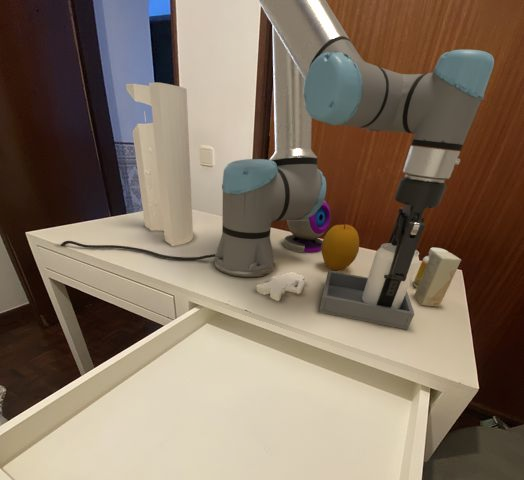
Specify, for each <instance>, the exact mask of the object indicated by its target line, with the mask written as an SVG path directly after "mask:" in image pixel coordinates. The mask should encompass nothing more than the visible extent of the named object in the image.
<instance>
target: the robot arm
mask: <svg viewBox="0 0 524 480" xmlns="http://www.w3.org/2000/svg"><path fill="white" fill-rule="evenodd" d="M257 1H258V3H259V5H260V6H261V9H262V10H263V12H264V14H265V15H266V17H267V18H268V20H269V22H270V23H271V25H272V26H271V27H272V28H271V29H272V30H271V31H272V32H271V33H272V68H273V69H272V71H273V72H272V77H273V121H274V153H273V154H272V156H271V157H270V158H269V159H265V158H255V159H253V158H246V159H239V160H235V161H231V162H229V163H227V165H226V166H225V167H224V168H223V172H222V173H223V174H222V183H221V190H222V223H221V224H222V228H221V229H222V231H221V236H220V239H219V242H218V246H217V249H216V252H215V253H212V254H205V255H200V256H188V257H187V256H186V257H185V256H173V255H166V254H161V253H158V252H155V251H152V250H149V249H144V248H139V247H134V246H126V245H116V244H115V245H114V244H110V245H109V244H95V245H94V244H83V243H80V242H77V241H73V240H65V241H63V242H61V244H60V247H65V246H66V245H69V244H70V245H74V246H76V247H80V248H81V247H82V248H86V249H122V250H130V251H136V252H142V253H146V254H149V255H152V256H155V257H159V258H162V259H163V258H164V259H169V260H177V261H198V260H199V261H200V260H203V259H209V258H210V259H211V258H214V267H215V268H216V269H217V270H219V271H220V272H221V273H224V274H227V275H230V276H234V277H240V278H259V277H265V276H267V275H269V274H271V273H272V272H273V271H274V270H275V257H274V252H273V247H272V243H271V231H272V230H271V229H272V223H274V222H284V221H286V222H287V220H301V219H303V218H308V217H311V216H312V215H314V214H315V213H316V212H317V211H318V209H319V208H320V207H321V205H322V204H323V201H324V200H325V198H326V194H327V180H326V177H325V176H324V174H323V172H322V171H321V170H320V169H319V168H318V156H317V155H316V153H315V152H314V151H313V150H312V149H313V148H312V137H313V136H312V134H313V133H312V132H313V131H312V130H313V120H315V121H318V122H322V123H324V124H326V125H329V126H345V127H354V128H361V129H363V130H368V131H371V132H376V133H377V132H389V133H407V134H413V138H412V141H411V145H410V146H409V150H408V153H407V156H406V159H405V162H404V165H403V169H402V173H403V174H404V176H403V177H401V178H400V179H399V182H398V184H397V189H396V192H395V195H394V200H395V202H397V203H400V204H403V205H404V206H403V207H402V206H400V207H399V209H398V211H397V212H398V213H397V216H396V220H395V222H394V225H393V227H392V230H391V233H390V236H389V238H388V241H387V243H391V244H392V245H394V246H396V249H395V254H394V257H393V261H392V264H391V268H390V272H389V274H388V275H384V278H386V279H385V282H384V285H383V288H382V291H381V293H380V296H379V299H378V302H377V305H379V306H384V307H389V308H391V306H392V304H393V301H394V298H395V296H396V293H397V291H398V288H399V285H400V283H401V281H405V280H406V276H407V273H408V270H409V268H410V265H411V262H412V259H413V256H414V253H415V250H417V247H418V245H419V241H420V238H421V236H422V233H423V231H424V229H425V228H426V223H425V222H424V221H425V218H424V217H423V216H424V212H425V209H428V208H429V209H435V208H437V207H439V206H440V205H441V202H442V199H443V197H444V194H445V192H446V189H447V187H448V186H447V183H446V182H445V181H447V180H449V179H450V178H451V176H452V173H453V171H454V169H455V166H458V165H460V163H461V158H459V156H460V153H461V151H462V149H463V146H464V143H465V141H466V138H467V136H468V134H469V132H470V129H471V126H472V125H473V122H474V120H475V117H476V115H477V111H478V109H479V107H480V105H481V102H482V101H483V100H484V98H485V92H486V89H487V86H488V84H489V81H490V78H491V75H492V72H493V69H494V66H495V58H494V56H493V55H492V54H491V53H489V52H486V51H484V50H479V49H455V50H451V51H446V52H444V53H443V54H441V55H440V56H439V58H438V59H437V61H436V62H437V63H436V64H435V67H434V68H433V71H432V72H428V73H413V74H412V73H399V72H396V71H393V70H390V69H387V68H383V67H381V66H378V65H375V64H373V63H369V62H366V61H365V60H364V59H363V58H362V57H361V55H360V54H359V52H358V50H357V49H356V48H355V46H354V44H353V43H352V41H351V40H350V37H349V36H348V34H347V33H346V31H345V29H344V28H343V26H342V25H341V23H340V21H339V19H338V18H337V16H336V15H335V13H334V11H333V9H331V7H330V6H329V4H328V2H327V0H257ZM399 273H400V274H399Z"/></svg>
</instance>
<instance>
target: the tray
mask: <svg viewBox="0 0 524 480" xmlns="http://www.w3.org/2000/svg"><path fill="white" fill-rule="evenodd" d="M367 280H368V277H366V276H361V275H356V274H350V273H344V272H340V271H333V270H332V271H331V270H327V273H326V278H325V281H324V287H323V291H322V296H321V301H320V305H319V311H318V313H323V314H327V315H333V316H337V317H342V318H348V319H352V320H357V321H363V322H367V323H373V324H377V325H383V326H388V327H392V328H397V329H401V330H409V328H410V325H411V323H412V321H413V318H414V317H415V311H414V308H413V305H412V302H411V300H410V296H409V293H408V291H407V292H406V294H405V297H404V299H403V302H402V304H401V306H400V308H399V309H395V308H389V307H384V306H379V305H374V304H369V303H365V302H364V301H363V300H362V296H363V292H364V289H365V286H366V283H367Z"/></svg>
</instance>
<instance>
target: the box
mask: <svg viewBox="0 0 524 480" xmlns="http://www.w3.org/2000/svg"><path fill="white" fill-rule="evenodd" d="M461 262H462V259H461V258H459V257H458V256H457V255H455V254H453V253H451V252H449V251H448V252H440V251H432V253H431V256H430V258H429V260H428V263H427V265H426V268H425V270H424V273H423V275H422V278H421V280H420V282H419V285H418V287H417V288H416V289H415V292H414V295H413V297H414V298H415V300H417V302H418V303H419V304H420V305H421V306H426V307H427V306H428V307H437V308H439V307H440V306H441V304H442V302H443V300H444V297H445V296H446V293H447V292H448V289H449V287H450V285H451V283H452V280H453V279H454V276H455V274H456V273H457V270H458V268H459V266H460V264H461Z"/></svg>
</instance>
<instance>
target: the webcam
mask: <svg viewBox="0 0 524 480" xmlns="http://www.w3.org/2000/svg"><path fill="white" fill-rule="evenodd" d="M330 210H331V209H330V207H329V205H328V203H327V201H326V200H325V199H324V201H323V204H322V205H321V207H320V208H319V209H318V211H317V212H316V213H315V214H314V215H312V216H311V217H308V218H303V219H301V220H286V224H287V228H288V230H289V232H290V233H291V234H290V235H287V236H285V237H284V239H283V246H284V247H285V248H287V249H289V250H290V251H294V252H298V253H303V254H304V253H316V252H320V251H322V250H321V248H322V241H323V239H320V238H321V236H323V235H324V234H325V232H326V231H327V230H328V228H329V226H330V223H331V211H330Z"/></svg>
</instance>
